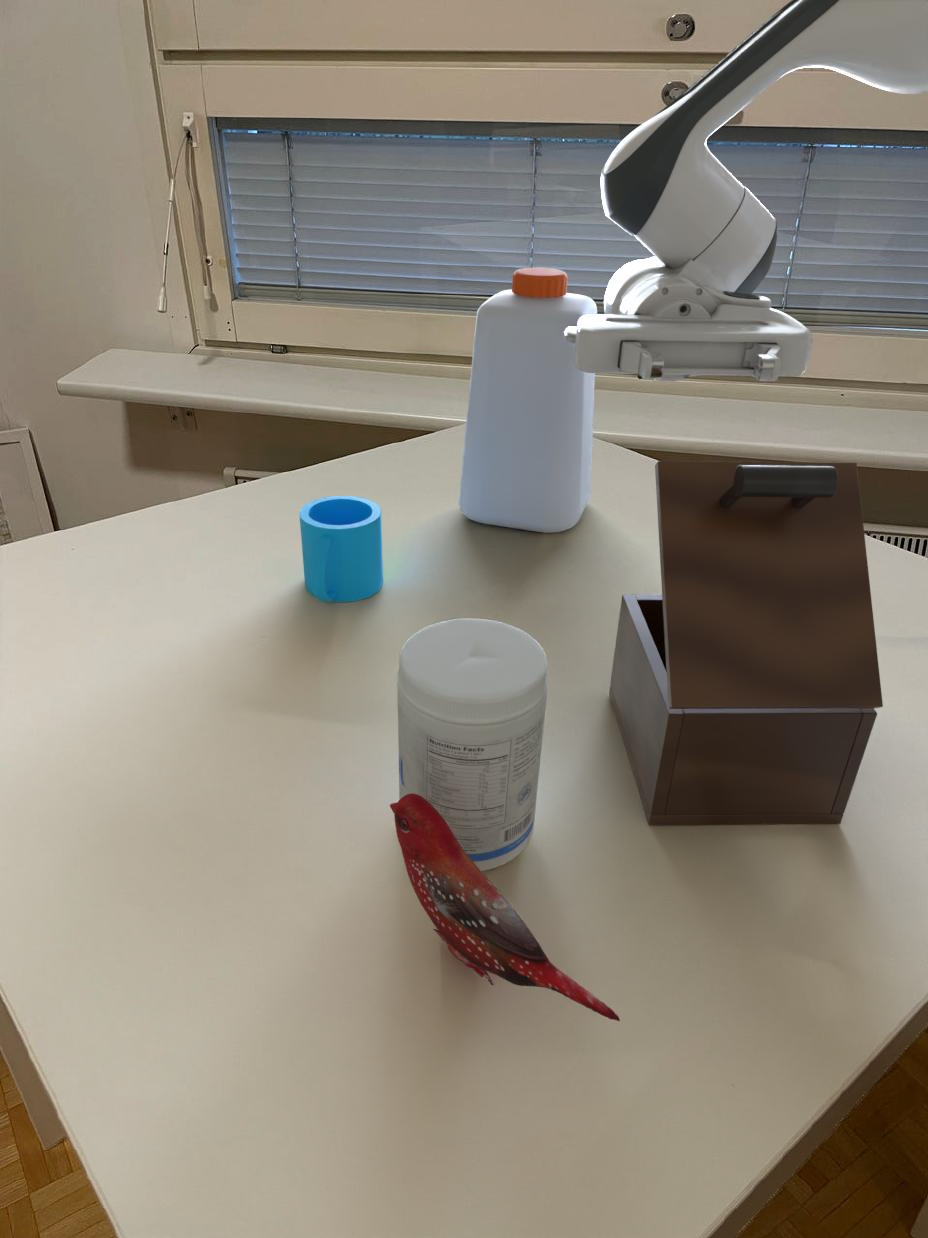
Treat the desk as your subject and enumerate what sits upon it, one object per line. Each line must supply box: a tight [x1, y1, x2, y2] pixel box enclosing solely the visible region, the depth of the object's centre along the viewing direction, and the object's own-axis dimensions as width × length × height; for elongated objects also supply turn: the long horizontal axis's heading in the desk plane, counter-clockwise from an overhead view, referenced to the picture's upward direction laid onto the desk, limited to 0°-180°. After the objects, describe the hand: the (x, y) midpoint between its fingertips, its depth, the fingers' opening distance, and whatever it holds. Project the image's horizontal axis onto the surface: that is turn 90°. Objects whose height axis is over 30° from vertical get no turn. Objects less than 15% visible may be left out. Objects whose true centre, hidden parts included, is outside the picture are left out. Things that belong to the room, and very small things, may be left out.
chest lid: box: [654, 460, 884, 709], centre depth 56 cm, size 17×14×6 cm
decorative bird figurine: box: [389, 793, 621, 1022], centre depth 48 cm, size 3×18×10 cm, turn 43°
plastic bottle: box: [458, 267, 598, 534], centre depth 102 cm, size 15×15×28 cm
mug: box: [298, 495, 384, 603], centre depth 88 cm, size 12×8×8 cm
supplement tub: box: [396, 617, 549, 872], centre depth 58 cm, size 10×10×15 cm
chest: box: [608, 593, 878, 826], centre depth 67 cm, size 16×14×10 cm
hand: (712, 370), depth 70 cm, fingers open, 8 cm apart
